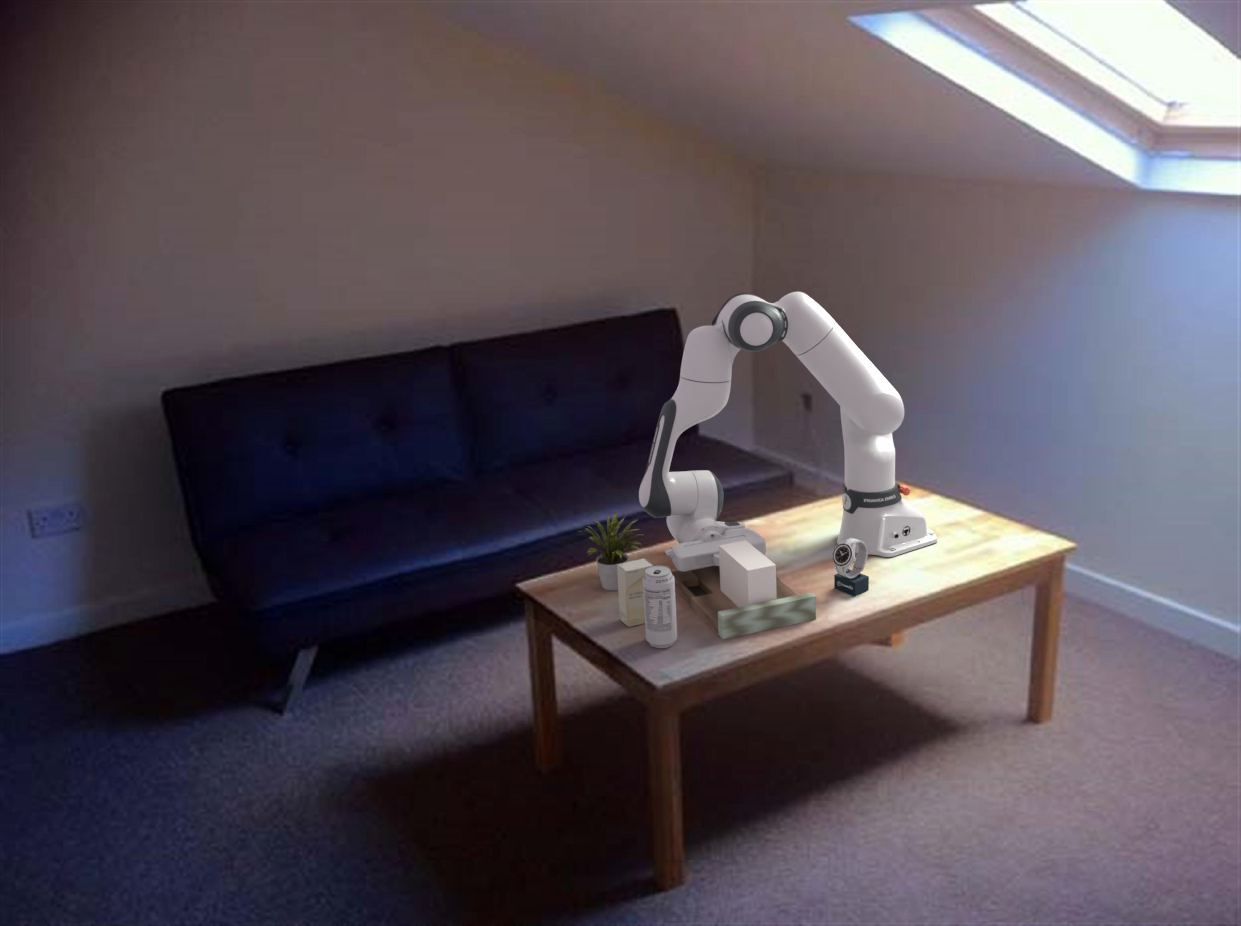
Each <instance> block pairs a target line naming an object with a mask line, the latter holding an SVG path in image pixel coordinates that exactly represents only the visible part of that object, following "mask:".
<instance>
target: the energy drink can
mask: <svg viewBox="0 0 1241 926" xmlns="http://www.w3.org/2000/svg"><path fill="white" fill-rule="evenodd" d="M671 571H672V570H671V568H670V567H669V566H666V565H653V566H652V567H649V568H647V569H646V571H645V575H644V577H643V596H644V613H645V623H644V626H645V629H644V630H645V640H646V641H647V642H648V644H649V646H650V647H653V648H656V649H667V648H670V647H672V646H673V645H674V644H675V642H676V641H677V639H678V627H677V625H678V623H677V605H676V604H677V603H676V590H675V579H674V576H673V575H672V573H671Z"/></svg>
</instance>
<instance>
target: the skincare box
mask: <svg viewBox="0 0 1241 926" xmlns="http://www.w3.org/2000/svg"><path fill="white" fill-rule="evenodd" d="M652 566H654V565H653V564H652V563H651V562H650V561H648V560H647V559H646V558H641V559H635V560H629V562H625V563H621V564H617V574H618V590H617V591H618V607H619V620H620V621H621V622H622V623H623V624H625V626H627V627H628V628H630V627H634V626H639V625H643V624H644V625H645V613H644V596H643V577H644V575H645V571H646V569H647V568H649V567H652Z"/></svg>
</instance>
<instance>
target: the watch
mask: <svg viewBox="0 0 1241 926" xmlns="http://www.w3.org/2000/svg"><path fill="white" fill-rule="evenodd" d="M856 543H858V546H859V552H857V553H855V548H856V545H855V544H856ZM831 555H832V556H831V557H832V561H833V566H834V568H835V570H836V573H835V574H834V575H833V576H834V579H833V583H834V584H833V589H834V590H837V591H839V592H842V593H844V594H847V595H850V596H852V597H855V598H856V597H858V596H859V595H861V594H864V593H866V592H867V591H870V590H869V587H870V586H869V585H870V583H869V580H870V576H868V575H865V574H863V573H861V572H863V571H864V569H865V567H866V564H867V560H868V555H869V554H867V546H866V544H865V543H864V542H863V541H860V540H857V539H854V538H849V539H847V540H845V541H843V542H842V543H841V544H839V545H838V544H837V545H836V546H835V547H834V549H833V551H832V554H831ZM851 565H852V567H853V568H852V569H850V568H849V567H850V566H851Z"/></svg>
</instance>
